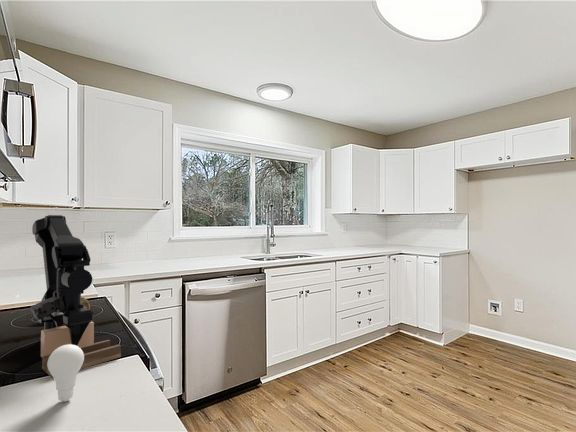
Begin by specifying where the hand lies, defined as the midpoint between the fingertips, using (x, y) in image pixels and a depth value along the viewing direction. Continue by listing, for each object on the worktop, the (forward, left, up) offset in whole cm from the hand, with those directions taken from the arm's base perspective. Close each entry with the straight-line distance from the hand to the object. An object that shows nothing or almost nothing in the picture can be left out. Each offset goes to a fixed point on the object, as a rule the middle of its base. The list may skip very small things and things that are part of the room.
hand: (68, 342), depth 93 cm
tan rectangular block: (0, 0, -2) cm, 2 cm away
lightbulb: (+30, -10, -2) cm, 32 cm away
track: (+12, -1, -2) cm, 12 cm away
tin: (-36, +11, -2) cm, 38 cm away
